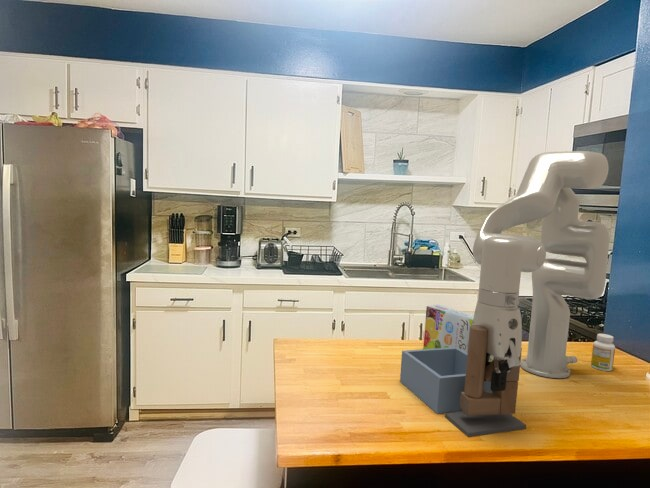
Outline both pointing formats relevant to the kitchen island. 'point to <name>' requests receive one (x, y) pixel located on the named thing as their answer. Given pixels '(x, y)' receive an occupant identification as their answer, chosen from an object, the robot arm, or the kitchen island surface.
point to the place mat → (484, 423)
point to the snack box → (447, 328)
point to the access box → (436, 377)
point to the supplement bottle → (603, 353)
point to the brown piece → (473, 395)
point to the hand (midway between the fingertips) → (490, 384)
